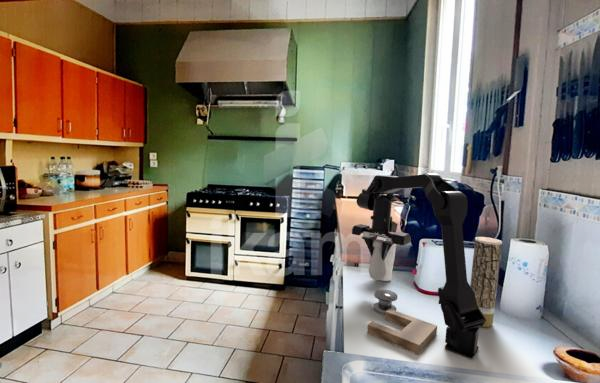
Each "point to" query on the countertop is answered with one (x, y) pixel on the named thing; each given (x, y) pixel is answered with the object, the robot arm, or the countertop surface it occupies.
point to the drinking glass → (389, 263)
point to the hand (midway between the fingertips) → (378, 259)
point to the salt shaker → (377, 262)
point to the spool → (384, 301)
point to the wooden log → (486, 275)
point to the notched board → (404, 331)
